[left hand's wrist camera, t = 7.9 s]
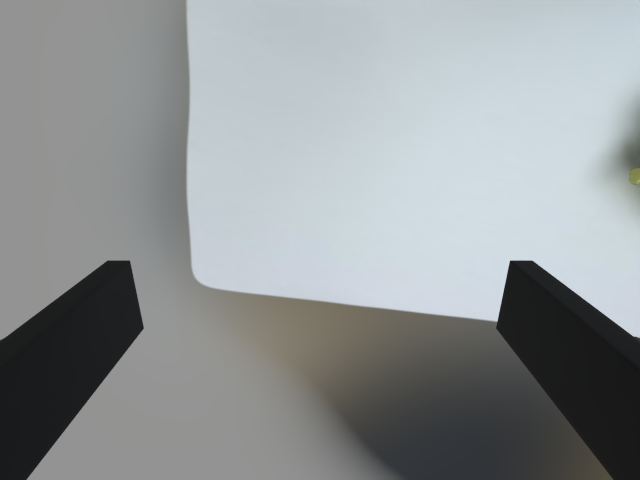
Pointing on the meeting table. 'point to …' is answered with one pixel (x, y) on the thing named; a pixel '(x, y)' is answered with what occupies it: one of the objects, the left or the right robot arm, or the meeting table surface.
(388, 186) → the meeting table surface
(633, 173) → the toy
